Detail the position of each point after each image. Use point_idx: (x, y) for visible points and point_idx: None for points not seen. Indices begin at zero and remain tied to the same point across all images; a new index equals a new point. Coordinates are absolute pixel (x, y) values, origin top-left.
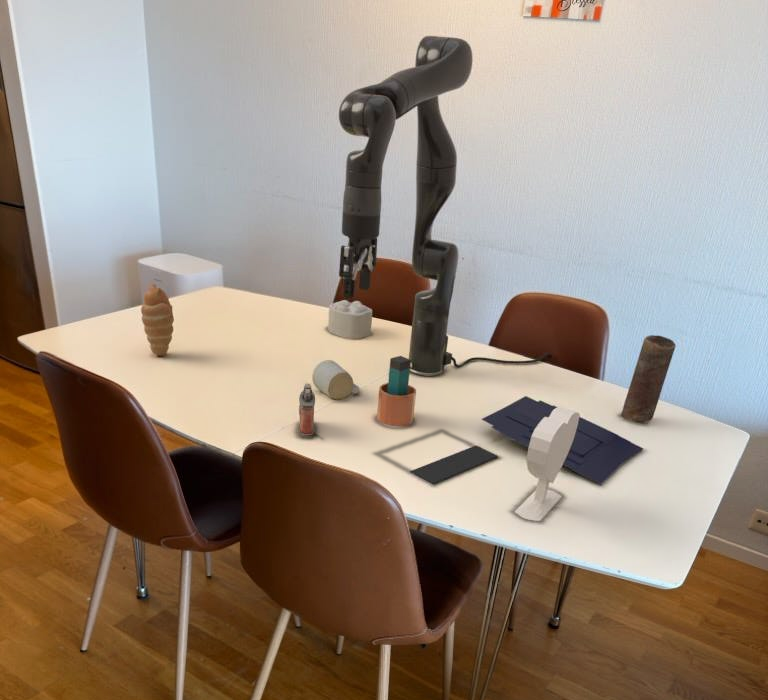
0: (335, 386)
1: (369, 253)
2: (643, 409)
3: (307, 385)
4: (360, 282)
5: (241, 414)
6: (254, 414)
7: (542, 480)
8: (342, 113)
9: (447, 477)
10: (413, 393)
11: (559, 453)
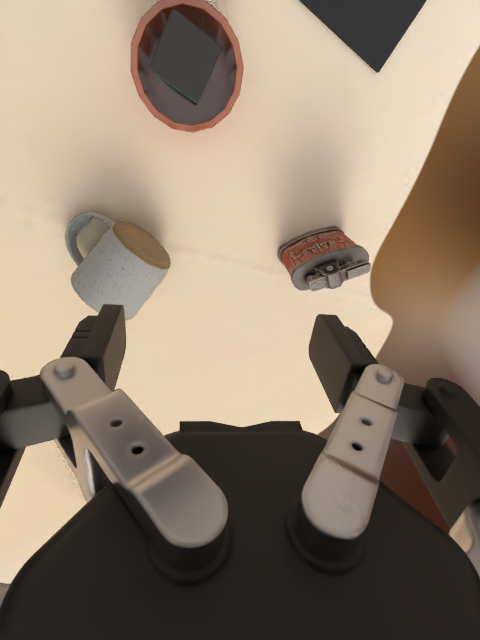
0: (160, 254)
1: (199, 471)
2: None
3: (321, 283)
4: (119, 362)
5: (284, 353)
6: (277, 339)
7: None
8: None
9: None
10: (195, 2)
11: None
